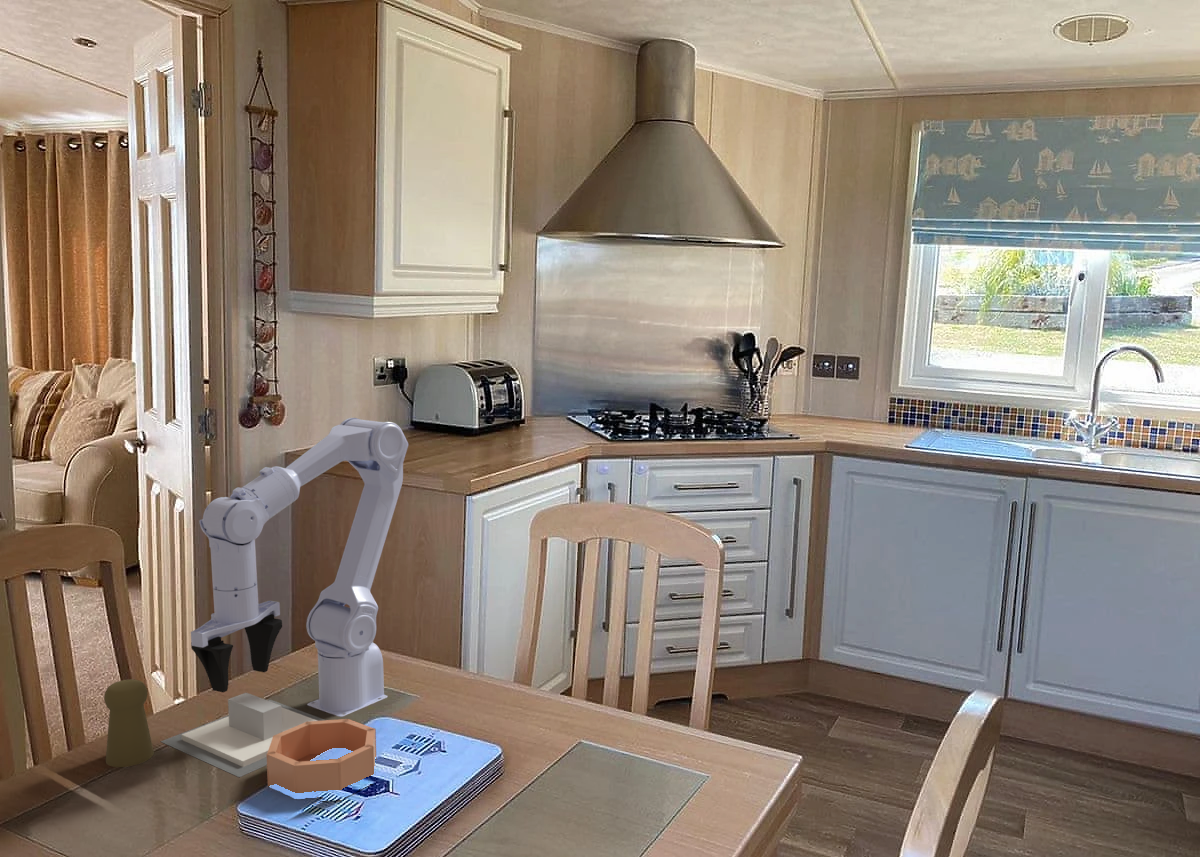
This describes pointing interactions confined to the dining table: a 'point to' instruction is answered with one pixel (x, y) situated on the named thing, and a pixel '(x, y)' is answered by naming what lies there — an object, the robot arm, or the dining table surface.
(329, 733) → the octagonal ring
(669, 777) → the dining table surface
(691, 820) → the dining table surface
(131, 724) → the cork
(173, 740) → the mat
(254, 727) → the lid
